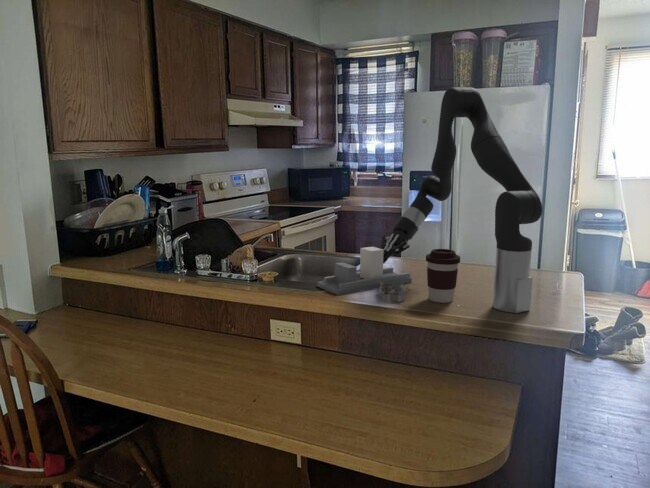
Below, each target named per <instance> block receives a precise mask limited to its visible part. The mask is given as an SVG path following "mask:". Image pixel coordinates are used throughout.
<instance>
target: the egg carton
mask: <svg viewBox="0 0 650 488" xmlns="http://www.w3.org/2000/svg"><path fill="white" fill-rule="evenodd" d="M379 295H380V297H381V301H383V302H387V303H390V302H393V301H394V302H398V303H401V302H404V301H406V299H405V298H406V287H405V285H404V284H399V285H393V284H392V285H391V286H387V284H386V283H382V281H380V288H379Z"/></svg>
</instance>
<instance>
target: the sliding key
mask: <svg viewBox="0 0 650 488" xmlns="http://www.w3.org/2000/svg"><path fill="white" fill-rule="evenodd" d="M359 251H360V253H359V254H360V257H359V260H360V261H359V272H360V277H361V278H364V279H369V278H376V277H382V276H383V268H384V263H383V249H382V248H380V247H379V248H378V247H376V246H368V247H367V246H366V247H360V250H359Z"/></svg>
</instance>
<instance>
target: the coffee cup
mask: <svg viewBox="0 0 650 488" xmlns="http://www.w3.org/2000/svg"><path fill="white" fill-rule="evenodd" d="M425 261H426V262H427V267H426V271H427V272H426V273H427V274H426V275H427V287H428V299H429V300H430V301H431V302H434V303H440V304H441V303H442V304H446V303H452V302H453V301H454V297H455V290H456V289H455V288H456V287H457V281H458V272H459V268H458V265H459V263H460V262H461V256H460V255H458V254H457V253H456V251H455V250H453V249H448V248H435V249H432V250H431V251H430V253H426V255H425Z"/></svg>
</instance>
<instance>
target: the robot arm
mask: <svg viewBox="0 0 650 488" xmlns="http://www.w3.org/2000/svg"><path fill="white" fill-rule="evenodd" d="M440 105H441V106H440V113H439V114H440V115H439V122H438V134H437V142H436V148H435V152H434V155H433V159H432V163H431V167H430V169H431V172H432V174H434V175H427V176H426V177H424V178H423V179H422V181H421V184H420V187H419V190H418V192H417V194H416V197H415V198H414V200H413V201H412V202H411V204H410V205H409V206H408V208H407V209H406V210H405V211H404V212H403V213H402V215H400V217H399V218H398V219H397V221H396V223H395V224H394V226H393V231H392V232H391V233H389V235H388V236H385V235H383V236H382V237H381V245H380V249H383V264H385V263H386V262H387V261H388V260H389V258H391V256H393V255H394V256H397V255H399V254H401V253H402V252H404V251H406V250H408V249H409V248H410V244H409V243H408V242H409V241H410V240H412V239H413V238H414V237H415V235H416V234H417V233H418V231H419V230H420V229H421V227H422V226H423V224H424V223H425V220H426V219H427V218H428V216H429V215H430V214H431V213H432V210H433V209H434V204H433V202H432V200H430V199H429V198H428V197H427V196H429V197H431V198H432V199H434V200H437V201H439V202H444V201H447V199H448V198H449V197H450V195H451V193H452V172H453V168H454V164H455V161H456V160H455V159H456V157H457V146H456V141H455V138H454V135H453V132H452V131H453V123H454V121H455V118H466V119H468V120H469V122H471V125H472V127H473V133H472V136H471V142H470V150H471V153H472V155H473V157H474V159H475V161H476V164H477V165H478V166H479V168H480V169H481V170H482V171H483V173H485V174H486V175H488V177H491V178H492V179H493V180H494V181H496V182H497V183H498V184H499V185H501V186H502V187H503V188H504V190H505V191H504V192H502V193H500V194H499V195H498V197H497V199H496V203H495V207H494V208H495V209H494V236H495V241H496V248H495V249H496V250H495V265H494V278H493V280H494V281H493V293H492V294H493V295H492V308H494V309H496V310H498V311H501V312H506V313H514V314H520V313H523V312H528V311H531V301H532V291H533V277H532V276H530V273H531V260H532V249H533V241H532V239H531V238H530V237H526V236H524V235H522V233H521V231H520V225H529V224H534V223H536V222H538V221H539V220H540V219H541V217H542V214H543V205H542V200H541V198H540V197H539V194H538V193H537V192H536V190H535V189H534V187H533V186H532V185H531V184H530V182H529V181H528V179H527V178H526V177H525V175H524V174H523V172H522V171H521V169H520V168H519V166H518V164H517V162H516V161H515V160H514V158H513V156H512V154H511V153H510V150H509V149H508V146H507V145H506V143H505V142H504V140H503V138H502V136H501V135H500V133H499V132H498V130H497V128H496V126H495V124H494V123H493V120H492V118H491V117H490V114H489V112H488V110H487V107H486V104H485V102H484V100H483V97H482V95H481V93H480V91H479V90H478V89H476V88H475V87H469V86H466V87H463V86H462V87H461V86H459V87H457V86H453V87H448V88H447V89H446V90H445V92H444V94H443V96H442V100H441V104H440Z"/></svg>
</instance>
